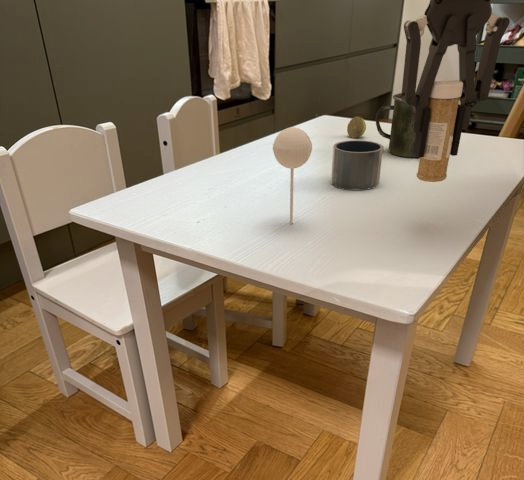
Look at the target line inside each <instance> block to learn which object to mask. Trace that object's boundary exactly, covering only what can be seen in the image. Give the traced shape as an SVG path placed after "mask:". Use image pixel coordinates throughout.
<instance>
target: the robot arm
mask: <svg viewBox="0 0 524 480" xmlns="http://www.w3.org/2000/svg"><path fill="white" fill-rule="evenodd" d="M491 2H492V1H491V0H429V3H428V5H427V7H426V9H425V10H424V14H423V15H421V16H419V17H418V18H415V19H413V20H410V19H408V20H406V21H405V22H404V24H403V30H404V35H405V40H406V45H405V55H404V65H403V74H402V75H403V76H402V85H401V93H402V94H401V99H402V101H403V102H405V103H407V104H408V105H412V107H413V113H412V120H411V130H412V131H413V132H414V133H416V136H415V143H414V150H413V153H414V154H415V155H416V156H418V157H417V158H420V157H424V152H425V145H426V139H427V132H428V125H429V119H430V112H431V109H429V108H428V107H426V105H427V102H428V99H429V96H430V93H431V90H432V87H433V84H434V81H435V80H436V78H437V75H438V73H439V70H440V67H441V64H442V61H443V57H444V55H445V54H446V53H447V50H448V47H451V46H454V45H456V46H457V52H458V75H459V76H458V77H459V78H458V79H459V81H462V82H463V88H462V94H461V97H460V100H459V103H458V109H457V115H456V119H455V126H454V133H453V140H452V146H451V152H450V156H454V157H455V156H458V153H459V147H460V143H461V142H460V141H461V137H462V131H467V130H468V128H469V125H470V119H471V115H472V109H473V108H475V107H476V106H477V104H478V103H479V102H480V103H481V102H485V101H486V100H487V99H489V95H490V90H491V86H492V81H493V77H494V74H495V69H496V63H497V61H498V55H499V51H500V47H501V42H502V38H503V37H504V35H505V33H506V31H507V30H508V28H509V26H510V23H511V20H510V18H509V17H506V16H500V15H498V14H495V13H494V12H493V8H492V4H491ZM485 25H486V26H485ZM426 27H427V28H428V31H429V32H430V35H431V41H430V44H429V47H428V53H427V57H426V60H425V63H424V66H423V69H422V72H421V76H420V78H419V81H418V75H419V74H418V73H419V65H420V63H419V62H420V54H421V48H422V47H421V46H422V37H423V35H424V33H425V29H426ZM484 27H485V32H486V34H485V37H484V40H483V44H482V49H481V53H480V57H479V58H480V59H479V63H478V67H477V68H478V69H477V73H476V63H475V62H476V51H477V36H478V34H479V33H480V31H482V29H483V28H484ZM417 82H418V84H417ZM415 92H416V93H415Z"/></svg>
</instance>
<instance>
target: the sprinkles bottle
mask: <svg viewBox="0 0 524 480" xmlns="http://www.w3.org/2000/svg"><path fill="white" fill-rule="evenodd" d="M462 88H463V82H462V81H459V80H458V79H447V78H445V79H435V81H434V84H433V87H432V90H431V93H430V96H429V99H428V104H427V107H428V108H429V109H431V112H430V119H429V125H428V132H427V139H426V145H425V152H424V157H419V160H418V168H417V172H416V178H417V179H418V180H420V181H423V182H427V183H437V182H438V183H439V182H442V181H444V180H446V179H447V177H448V174H447V172H448V165H449V160H450V156H451V155H450V152H451V146H452V140H453V133H454V126H455V119H456V115H457V109H458V104H460V97H461V94H462Z"/></svg>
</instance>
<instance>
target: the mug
mask: <svg viewBox="0 0 524 480" xmlns="http://www.w3.org/2000/svg"><path fill="white" fill-rule="evenodd" d="M415 93H416V91H415ZM401 94H402V92H399V93H396V94H394V95H393V96H392V99H393V100H394V101H393V105H383V106H381V107H380V108H379V109H378V110H377V112H376V114H375V125H376V129H377V133H378V134H379V135H380V136H381V137H382V138H385V139H386V140H387V139H388V140H389V142H388V151H389V153H391V154H392V155H394V156H399V157H404V158H419V157H418V156H416V155H415V154H414V153H413V150H414V143H415V136H416V133H414V132H413V131H412V130H411V120H412V113H413V107H412V105H408V104H407V103H405V102H403V101H402V99H401ZM427 104H428V102H427ZM426 107H427V105H426ZM385 111H392V117H391V118H392V119H391V127H390V134H389V133H386V132H385V131H384V130H383V129H382V127H381V123H380V114H381V113H382V112H385Z"/></svg>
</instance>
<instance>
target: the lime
mask: <svg viewBox="0 0 524 480" xmlns="http://www.w3.org/2000/svg"><path fill="white" fill-rule="evenodd" d="M366 131H367V124H366V121H365V118H363V117H361V116H358V115H357V116H354V117H353V118H351V119H350V120H349V122H348V124H347V129H346V133H347V135H348V137H349V138H352V139H356V138H360V137H362V136H363V135H364V134H365V132H366Z"/></svg>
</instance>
